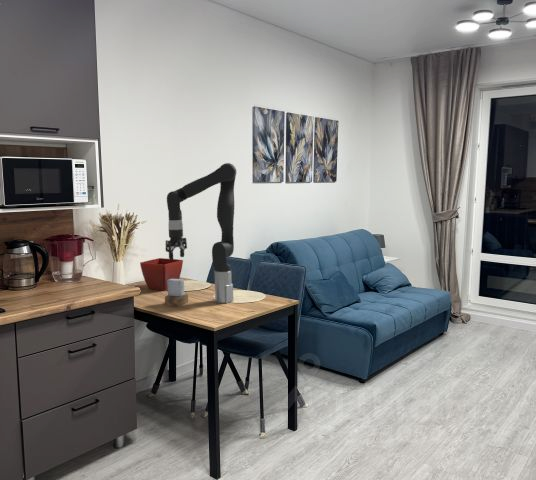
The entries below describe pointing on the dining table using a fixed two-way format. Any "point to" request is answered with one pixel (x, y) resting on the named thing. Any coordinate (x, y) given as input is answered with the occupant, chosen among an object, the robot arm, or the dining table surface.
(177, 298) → the walnut block
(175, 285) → the medicine box
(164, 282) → the plant pot
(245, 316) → the dining table surface
